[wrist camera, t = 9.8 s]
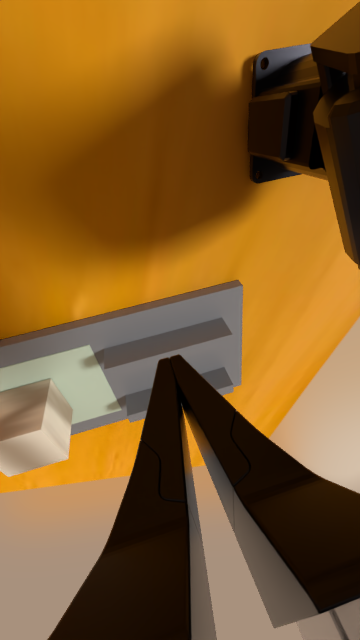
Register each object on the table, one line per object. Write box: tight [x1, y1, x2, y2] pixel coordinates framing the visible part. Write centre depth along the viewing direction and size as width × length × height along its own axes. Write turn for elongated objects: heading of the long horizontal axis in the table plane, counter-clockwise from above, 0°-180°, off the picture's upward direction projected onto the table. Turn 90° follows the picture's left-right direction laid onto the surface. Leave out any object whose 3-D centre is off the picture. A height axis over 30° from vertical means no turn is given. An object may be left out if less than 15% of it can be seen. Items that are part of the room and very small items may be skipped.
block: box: [0, 379, 73, 477], centre depth 23 cm, size 5×5×5 cm
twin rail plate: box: [0, 280, 243, 435], centre depth 25 cm, size 23×14×4 cm, turn 97°
